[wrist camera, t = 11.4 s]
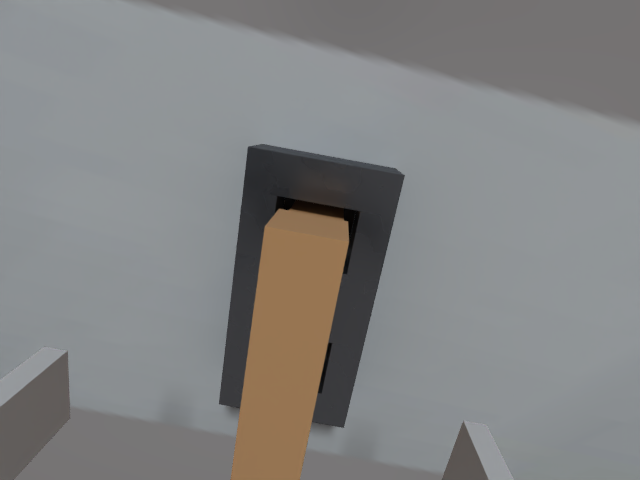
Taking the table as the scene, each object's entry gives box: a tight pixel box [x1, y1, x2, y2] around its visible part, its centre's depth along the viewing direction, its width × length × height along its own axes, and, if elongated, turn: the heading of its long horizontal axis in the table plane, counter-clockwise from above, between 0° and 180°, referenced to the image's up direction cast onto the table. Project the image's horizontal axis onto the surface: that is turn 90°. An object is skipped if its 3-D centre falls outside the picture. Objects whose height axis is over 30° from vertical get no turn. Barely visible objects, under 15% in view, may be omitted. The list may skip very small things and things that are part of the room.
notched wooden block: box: [231, 200, 349, 480], centre depth 19 cm, size 12×3×10 cm, turn 170°
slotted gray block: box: [219, 144, 405, 428], centre depth 22 cm, size 16×8×4 cm, turn 170°
